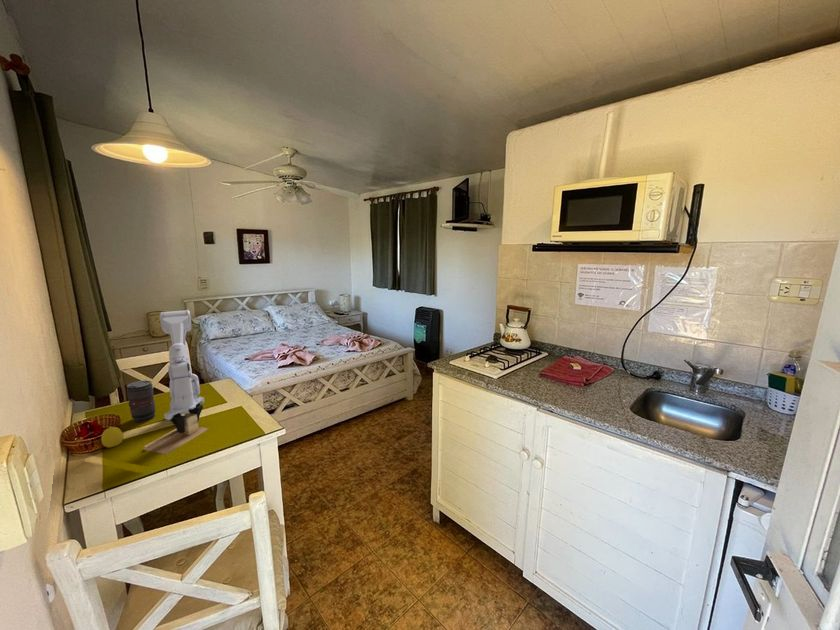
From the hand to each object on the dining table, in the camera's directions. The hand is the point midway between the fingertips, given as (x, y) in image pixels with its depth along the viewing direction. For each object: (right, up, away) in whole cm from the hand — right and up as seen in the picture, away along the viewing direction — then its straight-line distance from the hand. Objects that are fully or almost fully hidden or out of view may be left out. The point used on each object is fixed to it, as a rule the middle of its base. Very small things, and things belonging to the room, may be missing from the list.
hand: (188, 428), depth 128 cm
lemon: (-20, -4, -8) cm, 22 cm away
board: (0, -4, -5) cm, 6 cm away
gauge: (0, -1, 0) cm, 1 cm away
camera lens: (-26, 0, +13) cm, 29 cm away
